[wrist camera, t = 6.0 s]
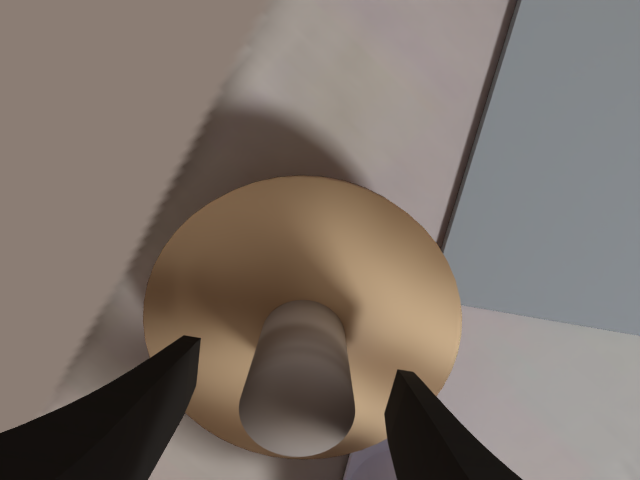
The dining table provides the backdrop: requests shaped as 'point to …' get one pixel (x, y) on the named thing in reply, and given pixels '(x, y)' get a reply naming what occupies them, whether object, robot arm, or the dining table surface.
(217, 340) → the lid
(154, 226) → the dining table surface
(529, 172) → the mat
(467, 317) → the dining table surface
